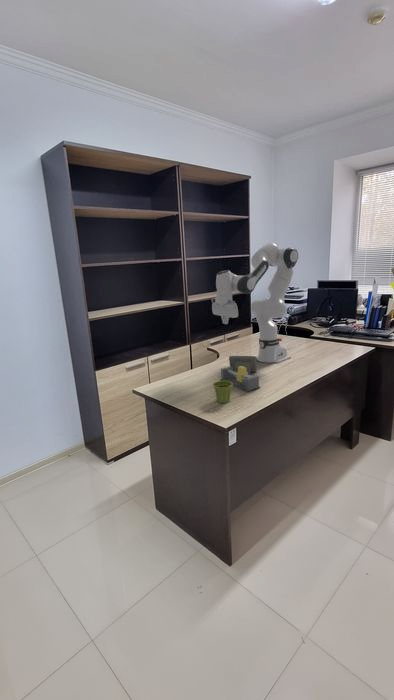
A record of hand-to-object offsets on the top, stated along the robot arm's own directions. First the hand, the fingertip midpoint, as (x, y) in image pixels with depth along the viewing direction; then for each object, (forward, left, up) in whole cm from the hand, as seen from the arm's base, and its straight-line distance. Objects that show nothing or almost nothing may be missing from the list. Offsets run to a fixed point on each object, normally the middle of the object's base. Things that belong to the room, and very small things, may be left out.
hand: (225, 323), depth 201 cm
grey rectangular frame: (+8, +21, -29) cm, 37 cm away
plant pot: (+28, +33, -29) cm, 52 cm away
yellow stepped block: (+8, +24, -26) cm, 36 cm away
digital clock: (-6, +8, -29) cm, 31 cm away
